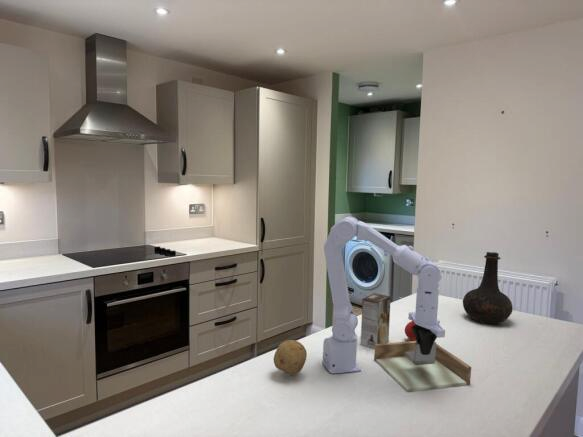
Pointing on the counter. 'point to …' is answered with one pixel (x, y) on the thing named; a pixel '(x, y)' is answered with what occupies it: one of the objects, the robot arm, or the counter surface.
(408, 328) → the red round fruit
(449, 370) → the arena
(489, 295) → the glass bottle
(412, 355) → the bracket
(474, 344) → the counter surface
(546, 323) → the counter surface
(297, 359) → the potato
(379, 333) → the coffee box
